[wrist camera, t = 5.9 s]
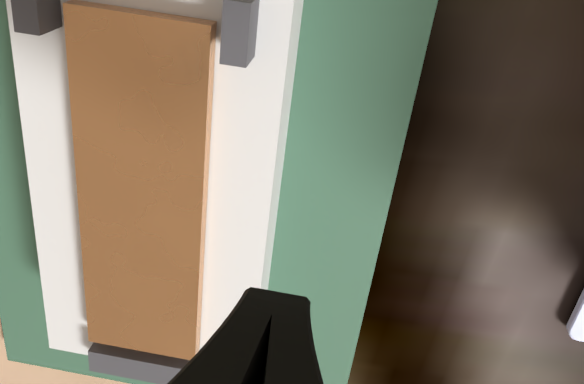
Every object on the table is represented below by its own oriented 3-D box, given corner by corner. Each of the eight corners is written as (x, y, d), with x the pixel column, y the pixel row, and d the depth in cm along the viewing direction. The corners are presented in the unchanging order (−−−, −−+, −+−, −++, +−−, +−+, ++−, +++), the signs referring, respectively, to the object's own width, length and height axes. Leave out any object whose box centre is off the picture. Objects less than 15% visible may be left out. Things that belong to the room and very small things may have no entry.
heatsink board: (504, -298, 14) (560, -381, 10) (338, 409, 26) (332, 506, 22) (-100, -367, 15) (-288, -471, 11) (17, 348, 27) (-48, 430, 23)
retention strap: (217, 21, 15) (211, 25, 14) (199, 349, 21) (194, 361, 20) (73, -1, 15) (62, 2, 15) (95, 330, 21) (88, 341, 20)
